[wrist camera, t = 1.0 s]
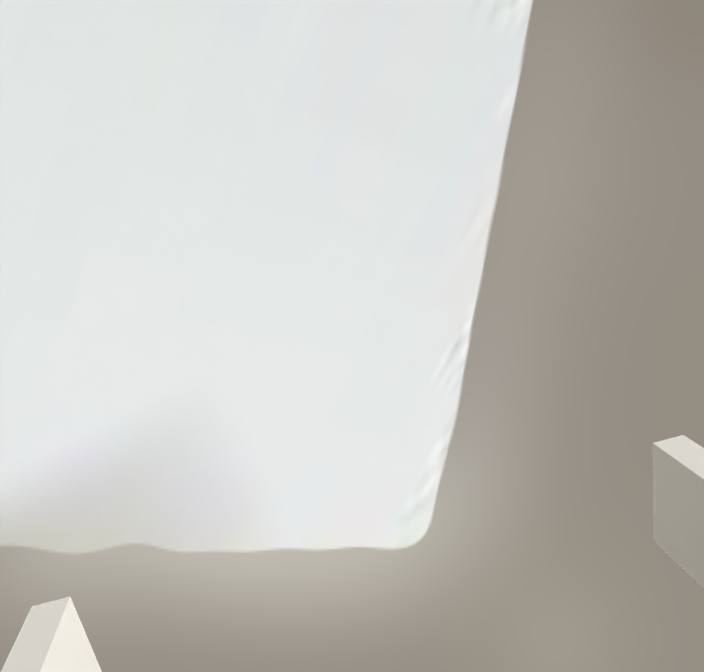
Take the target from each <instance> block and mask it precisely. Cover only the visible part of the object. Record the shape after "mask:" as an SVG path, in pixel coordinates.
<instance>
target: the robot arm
mask: <svg viewBox="0 0 704 672" xmlns="http://www.w3.org/2000/svg"><path fill="white" fill-rule="evenodd" d="M653 490H654V491H653V495H654V498H653V499H654V541H655V542H656V543H657V544H658V545H659V546H660V547H661V548H662V549H663V550H664V551H665V552H666V553H667V554H668V555H669V556H670V557H671V558H672V559H674V560H675V561H676V562H677V563H678V564H679V565H680V566H681V567H682V568H683V569H684V570H685V571H686V572H687V573H688V574H689V575H690V576H692V578H694V579H695V580H696V581H697V582H698V583H699V584H700V585H701V586H702V587H703V588H704V448H702V447H701V446H699V445H697V444H696V443H695V442H693V441H691V440H690V439H688V438H687V437H685V436H684V435H682V436H678V437H674V438H670V439H667V440H663V441H659V442H655V443H653ZM1 672H102V671H101V669H100V666H99V664H98V662H97V659H96V657H95V654H94V652H93V650H92V647H91V645H90V643H89V640H88V638H87V636H86V633H85V631H84V628H83V626H82V624H81V621H80V619H79V616H78V614H77V612H76V609H75V607H74V605H73V602H72V600H71V598H70V596H69V597H65V598H62V599H58V600H54V601H50V602H46V603H43V604H39V605H35V606H32V607H31V609H30V611H29V613H28V615H27V617H26V620H25V622H24V624H23V626H22V628H21V630H20V632H19V634H18V637H17V639H16V641H15V643H14V645H13V648H12V650H11V652H10V654H9V656H8V658H7V660H6V662H5V664H4V666H3V669H2V671H1Z"/></svg>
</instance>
